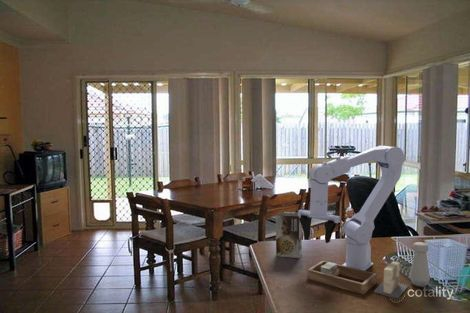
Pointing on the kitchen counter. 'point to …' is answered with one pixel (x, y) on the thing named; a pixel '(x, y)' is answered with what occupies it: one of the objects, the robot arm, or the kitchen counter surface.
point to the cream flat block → (391, 277)
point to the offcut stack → (330, 269)
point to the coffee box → (288, 235)
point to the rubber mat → (395, 294)
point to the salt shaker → (420, 265)
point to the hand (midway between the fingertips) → (317, 239)
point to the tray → (339, 282)
